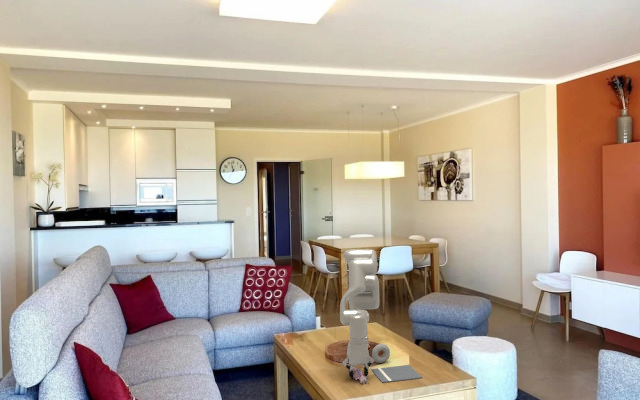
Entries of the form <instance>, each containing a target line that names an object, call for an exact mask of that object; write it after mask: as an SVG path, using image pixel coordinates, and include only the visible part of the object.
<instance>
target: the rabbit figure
mask: <svg viewBox="0 0 640 400" xmlns="http://www.w3.org/2000/svg"><path fill="white" fill-rule="evenodd" d="M352 370H353V379H355V381H357V380H359V384H361V385H363V386H365V384H368V385H370V381H369V380H368V379H367V378H368V375H367V376H364V373H363V372H362V370H361V369H358V368H357V367H353V369H352Z"/></svg>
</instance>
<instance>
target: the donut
mask: <svg viewBox="0 0 640 400" xmlns="http://www.w3.org/2000/svg"><path fill="white" fill-rule="evenodd" d="M381 351H382V352H383V353H382V355H379V353H380V352H381ZM390 354H391V350H390V348H389V346H388V345H387V344H385V343H379V344H376V345H375V346H374V347H373V349H372V351H371V357H372V358H373V359H374V362H375V363H378V364H383V363H385V362H386V361H388V359H389V358H390V356H391V355H390Z"/></svg>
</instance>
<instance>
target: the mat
mask: <svg viewBox="0 0 640 400" xmlns="http://www.w3.org/2000/svg"><path fill="white" fill-rule="evenodd" d="M371 372H372V373H373V374H374V375H375V376H376V378H377V379H378V380H379V381H380V382H381V384H387V383H395V382H403V381H404V382H405V381H409V380H410V381H411V380H419V379H420V378H421V379H423V376H421V374H420V373H418V372H417V371H416V370H415V369H414V368H413V367H412V366H411V365H410V364H405V365H396V366H388V367H378V368H371Z"/></svg>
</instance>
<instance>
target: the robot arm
mask: <svg viewBox="0 0 640 400" xmlns="http://www.w3.org/2000/svg"><path fill="white" fill-rule="evenodd" d="M343 258H344V260H345V262H346V264H347V265H348V289H347V291H346V292H345V293H344V294H343V295H342V297H341V300H340V304H339V319H340V323H341V325H344V326H349V341H348V343H347V350H346V358H345V359H344V360H342V365H343V366H344V367H345V368H346V369H347V370H348V377H350V379H351V380H354V377H353V370H352V369H353V368H354V366H360V365H364V367H363V376H367V377H368V375H369V369H370V367H371V366H372V364H373V363H374V362H375V361H374V359H373V358H372V355H370V352H369V350H368V346H369V344H370V343H369V341H368V340H369V336H368V334H369V333H368V323H369V321H370V314H369V312H368V311H367V310H377V309H379V307H380V282H379V278H378V275H376V274H377V272H378V256H377V251H376V250H375V249H372V248H371V249H368V248H367V249H365V248H364V249H362V248H361V249H359V248H358V249H357V248H356V249H346V250H345V251H344V252H343ZM347 303H348V308H349V309H346V307H347V306H346V304H347Z"/></svg>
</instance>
